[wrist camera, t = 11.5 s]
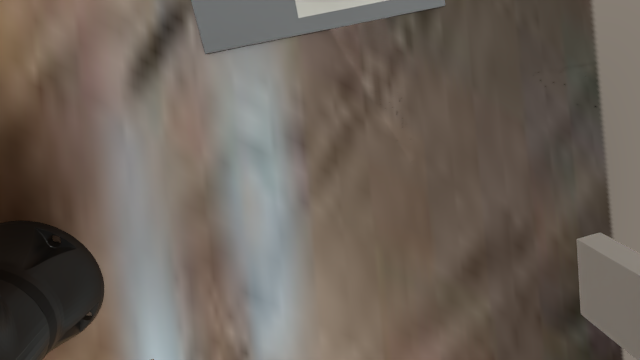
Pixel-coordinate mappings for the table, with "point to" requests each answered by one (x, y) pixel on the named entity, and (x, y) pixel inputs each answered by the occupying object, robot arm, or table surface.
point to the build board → (288, 18)
